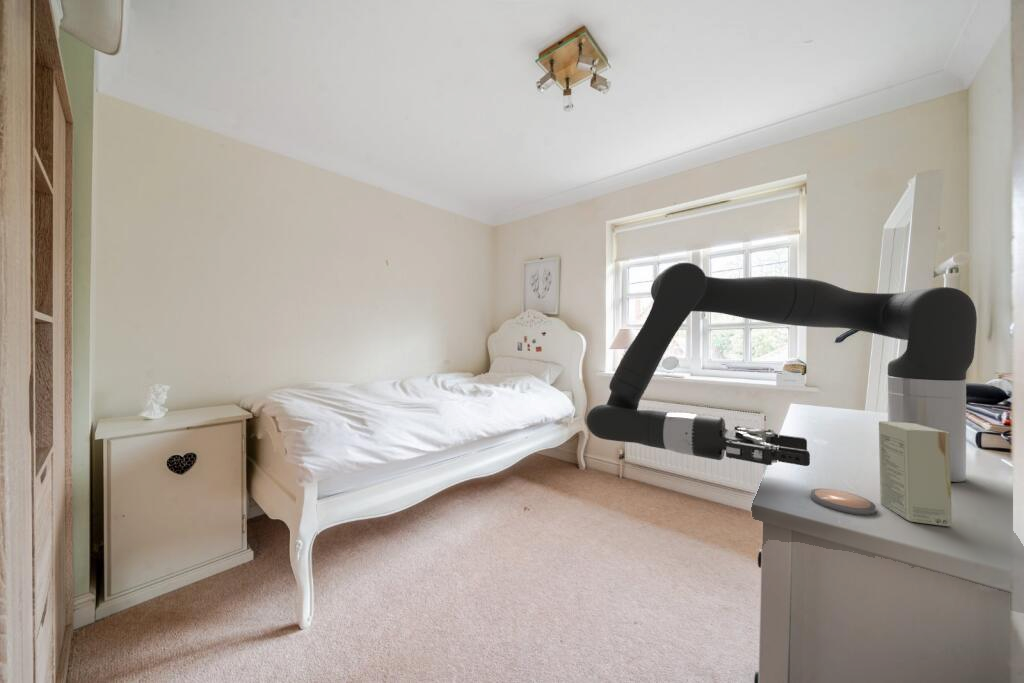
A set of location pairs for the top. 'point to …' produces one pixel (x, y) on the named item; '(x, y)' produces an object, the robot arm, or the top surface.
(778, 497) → the top surface
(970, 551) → the top surface
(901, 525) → the top surface
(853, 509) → the tile
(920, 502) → the skincare box
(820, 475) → the top surface
